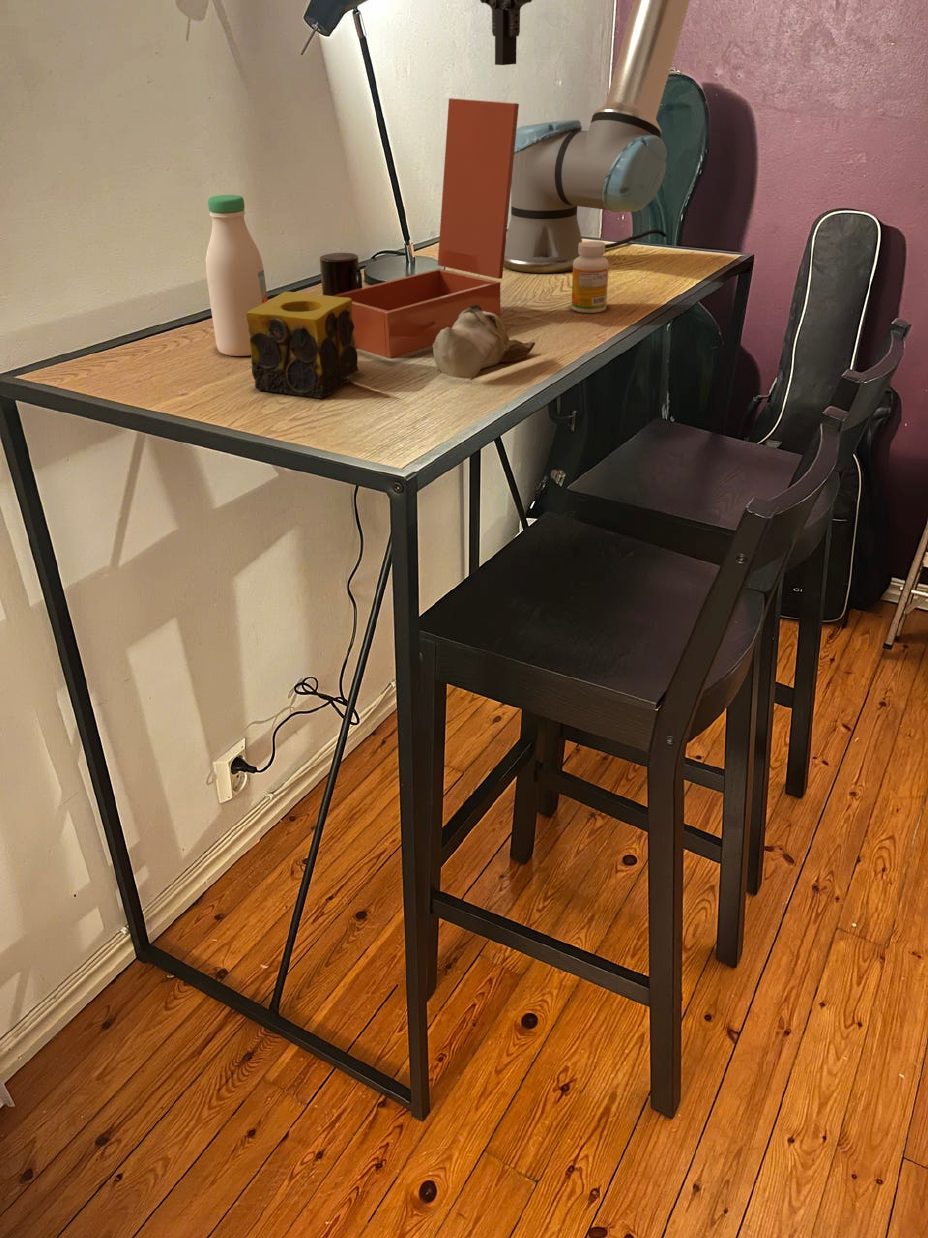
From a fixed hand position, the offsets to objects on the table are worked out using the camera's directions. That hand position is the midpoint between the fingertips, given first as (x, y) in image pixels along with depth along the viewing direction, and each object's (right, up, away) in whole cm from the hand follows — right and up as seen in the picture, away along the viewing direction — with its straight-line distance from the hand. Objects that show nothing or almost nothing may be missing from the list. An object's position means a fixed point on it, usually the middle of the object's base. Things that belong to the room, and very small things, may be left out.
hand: (505, 63), depth 139 cm
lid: (-4, -15, +4) cm, 17 cm away
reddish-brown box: (-12, -36, +7) cm, 38 cm away
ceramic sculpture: (-4, -44, -6) cm, 44 cm away
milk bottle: (-36, -38, +3) cm, 53 cm away
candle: (-26, -46, -9) cm, 54 cm away
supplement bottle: (+14, -28, +18) cm, 36 cm away
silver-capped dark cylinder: (-24, -31, +14) cm, 42 cm away
